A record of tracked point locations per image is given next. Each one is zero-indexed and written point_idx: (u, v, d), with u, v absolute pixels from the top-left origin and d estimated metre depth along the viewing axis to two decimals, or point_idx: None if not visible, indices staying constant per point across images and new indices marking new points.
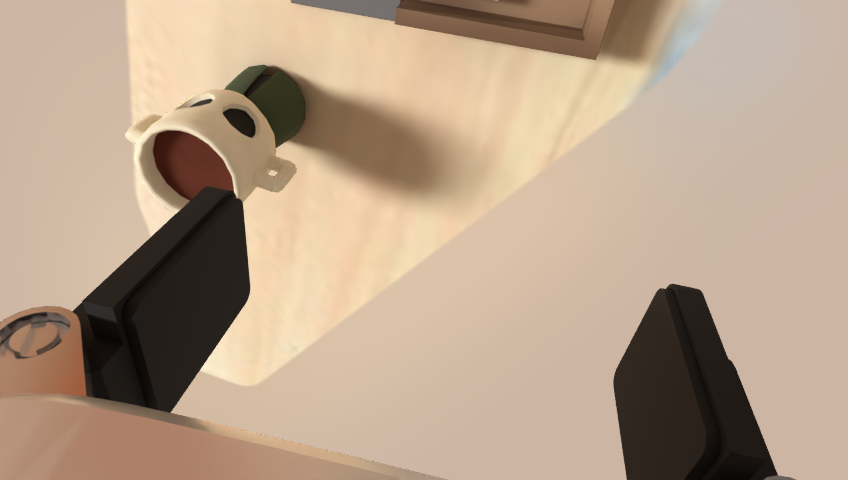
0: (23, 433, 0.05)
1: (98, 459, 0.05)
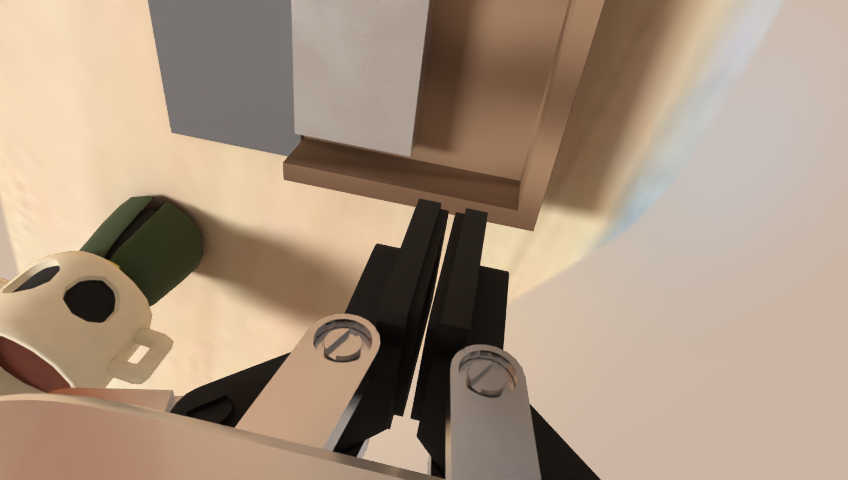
0: (23, 433, 0.05)
1: (98, 459, 0.05)
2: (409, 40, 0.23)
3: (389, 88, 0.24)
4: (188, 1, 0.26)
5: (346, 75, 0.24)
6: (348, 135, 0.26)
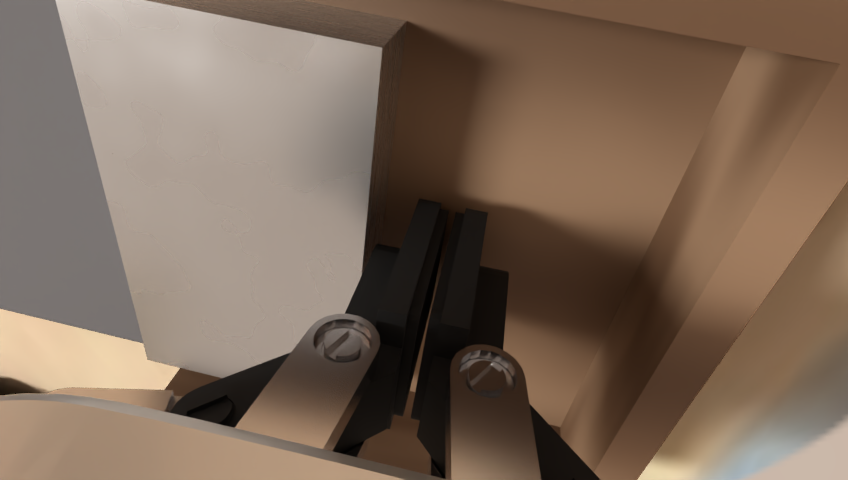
0: (22, 431, 0.05)
1: (98, 459, 0.05)
2: (333, 246, 0.11)
3: (303, 315, 0.13)
4: None
5: (223, 290, 0.13)
6: (239, 371, 0.15)
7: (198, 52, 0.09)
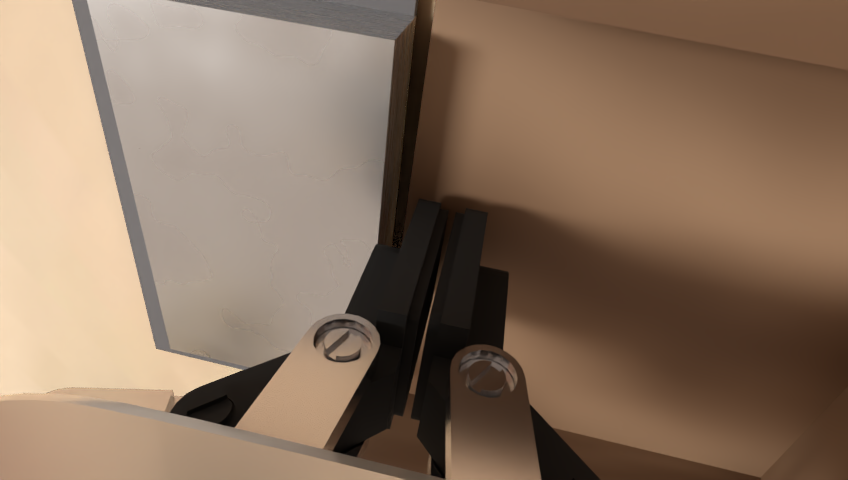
0: (23, 434, 0.05)
1: (98, 459, 0.05)
2: (349, 233, 0.12)
3: (320, 301, 0.13)
4: None
5: (243, 278, 0.13)
6: (258, 358, 0.15)
7: (222, 49, 0.10)
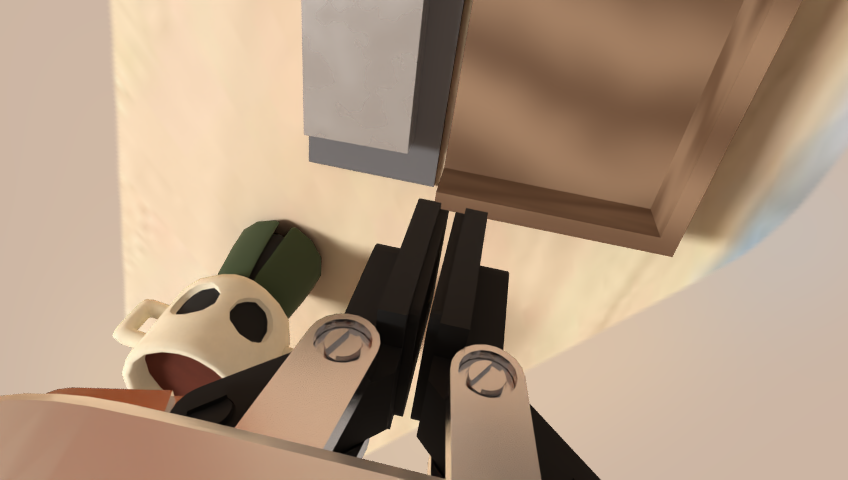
0: (22, 433, 0.05)
1: (98, 459, 0.05)
2: (404, 49, 0.26)
3: (388, 92, 0.27)
4: None
5: (350, 81, 0.28)
6: (352, 135, 0.29)
7: None
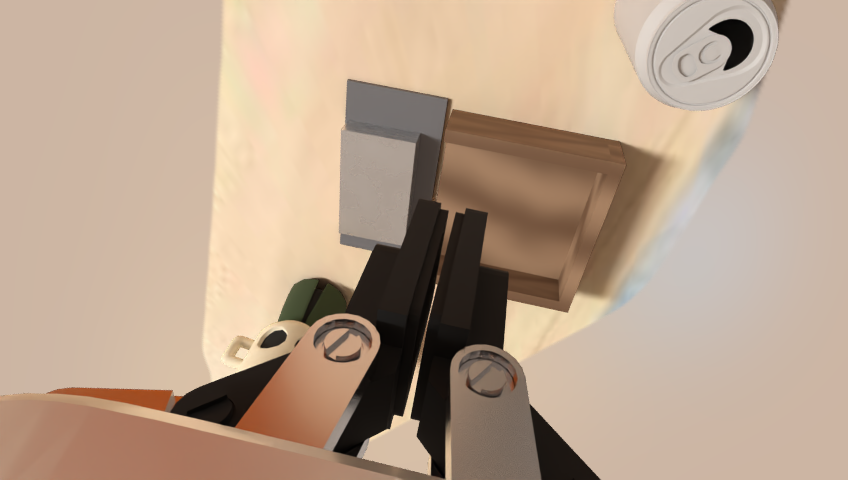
0: (24, 432, 0.05)
1: (98, 459, 0.05)
2: (402, 190, 0.43)
3: (392, 212, 0.45)
4: None
5: (369, 205, 0.45)
6: (369, 234, 0.47)
7: (373, 144, 0.41)
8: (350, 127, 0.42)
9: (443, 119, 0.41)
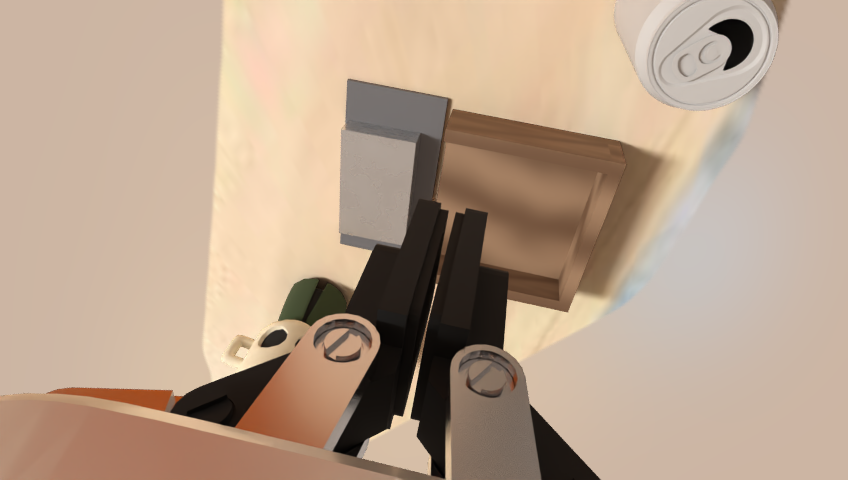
0: (23, 433, 0.05)
1: (98, 459, 0.05)
2: (402, 190, 0.43)
3: (392, 212, 0.45)
4: None
5: (369, 205, 0.45)
6: (369, 234, 0.47)
7: (373, 143, 0.41)
8: (351, 127, 0.42)
9: (443, 119, 0.41)
